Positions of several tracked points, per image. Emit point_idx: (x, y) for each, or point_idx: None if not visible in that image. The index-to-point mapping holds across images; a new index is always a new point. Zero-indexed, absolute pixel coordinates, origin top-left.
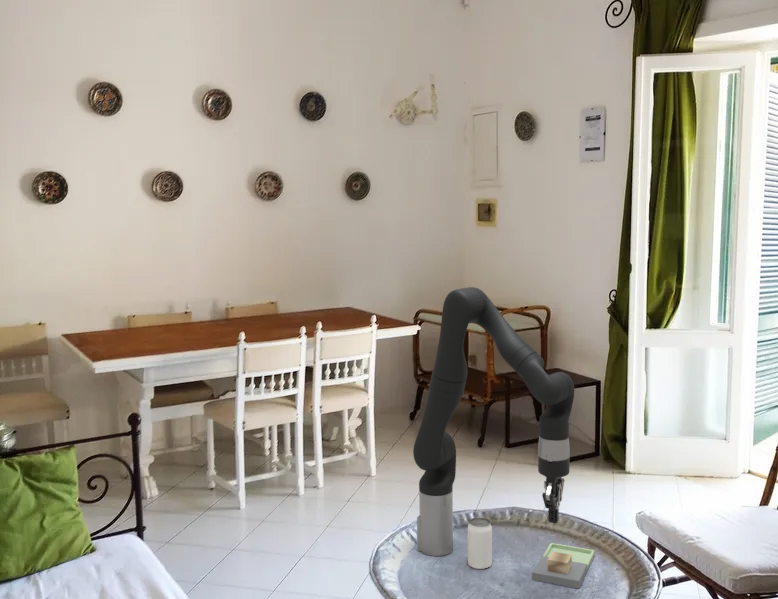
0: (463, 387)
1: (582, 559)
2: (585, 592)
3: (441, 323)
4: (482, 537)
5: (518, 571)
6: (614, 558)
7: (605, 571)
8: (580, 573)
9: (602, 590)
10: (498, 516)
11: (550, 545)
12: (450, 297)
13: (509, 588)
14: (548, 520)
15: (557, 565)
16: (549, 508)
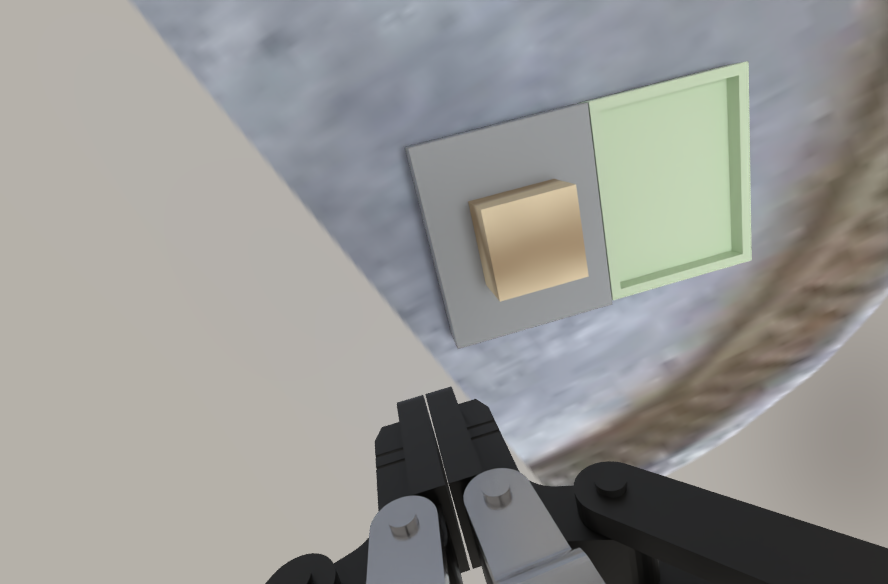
0: None
1: (672, 242)
2: (441, 365)
3: None
4: None
5: (439, 49)
6: (740, 322)
7: (629, 344)
8: (522, 322)
9: (490, 401)
10: None
11: (721, 74)
12: None
13: (265, 100)
14: (398, 404)
15: (484, 251)
16: (367, 544)
